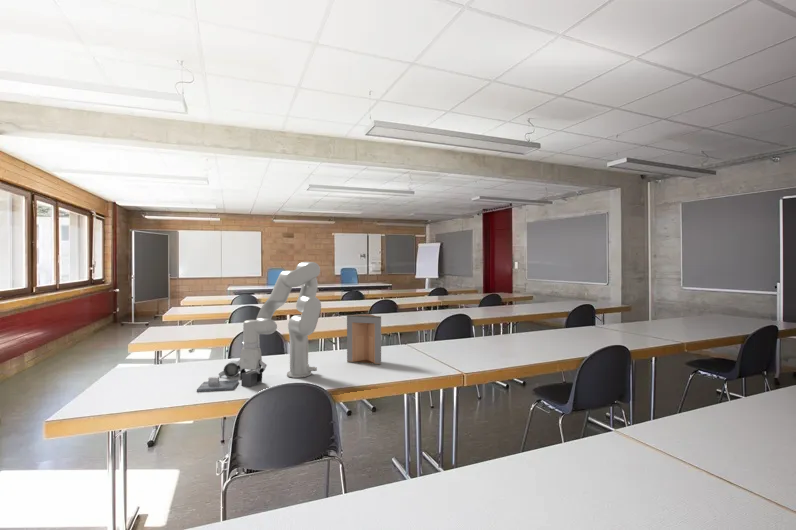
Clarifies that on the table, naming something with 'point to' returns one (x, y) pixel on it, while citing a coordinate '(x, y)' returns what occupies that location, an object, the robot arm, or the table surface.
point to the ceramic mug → (230, 370)
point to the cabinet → (364, 339)
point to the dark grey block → (249, 378)
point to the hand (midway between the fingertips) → (251, 380)
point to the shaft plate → (217, 385)
